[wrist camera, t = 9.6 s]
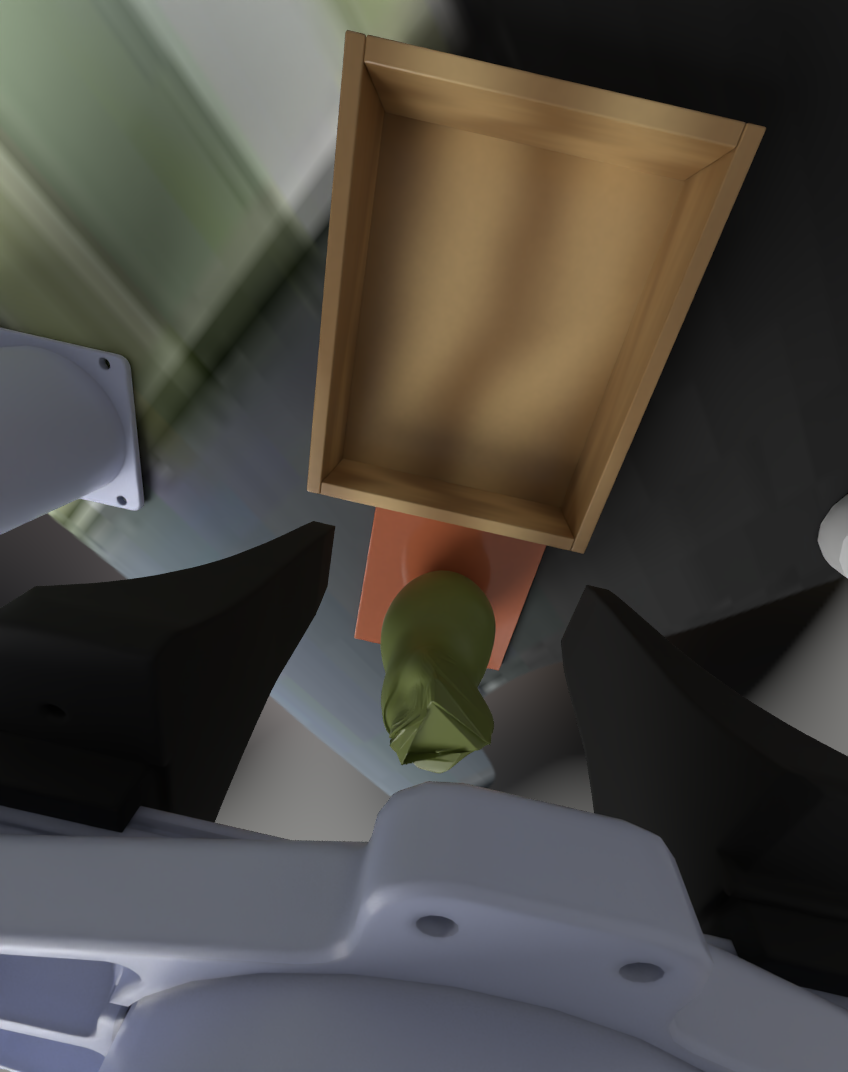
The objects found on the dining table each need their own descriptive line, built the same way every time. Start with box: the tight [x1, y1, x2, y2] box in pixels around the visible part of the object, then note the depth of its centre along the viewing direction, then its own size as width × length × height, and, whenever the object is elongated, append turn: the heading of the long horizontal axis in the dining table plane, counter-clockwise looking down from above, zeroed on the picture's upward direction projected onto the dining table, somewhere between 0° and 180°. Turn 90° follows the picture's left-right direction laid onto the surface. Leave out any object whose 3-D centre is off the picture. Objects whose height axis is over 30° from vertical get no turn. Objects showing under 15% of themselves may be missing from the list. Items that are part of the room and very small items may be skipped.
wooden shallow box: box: [307, 30, 766, 554], centre depth 17 cm, size 12×14×4 cm
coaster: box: [354, 507, 546, 670], centre depth 25 cm, size 9×9×1 cm
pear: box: [381, 571, 496, 773], centre depth 20 cm, size 6×5×10 cm
